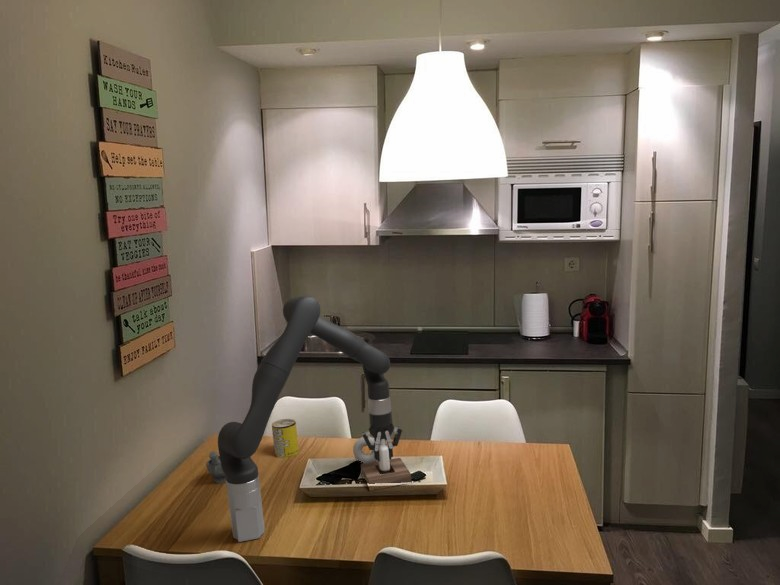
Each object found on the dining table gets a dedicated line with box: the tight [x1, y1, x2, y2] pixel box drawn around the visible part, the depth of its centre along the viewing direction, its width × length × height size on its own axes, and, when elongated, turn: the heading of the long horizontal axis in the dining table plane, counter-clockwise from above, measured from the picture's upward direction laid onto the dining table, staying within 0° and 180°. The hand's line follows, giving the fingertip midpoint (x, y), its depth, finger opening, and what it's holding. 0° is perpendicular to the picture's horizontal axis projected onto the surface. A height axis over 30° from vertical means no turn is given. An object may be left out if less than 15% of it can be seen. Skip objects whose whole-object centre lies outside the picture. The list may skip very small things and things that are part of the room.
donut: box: [352, 436, 377, 464], centre depth 239 cm, size 10×4×10 cm, turn 89°
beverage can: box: [271, 418, 300, 459], centre depth 254 cm, size 9×9×12 cm
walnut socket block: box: [360, 457, 412, 484], centre depth 226 cm, size 14×14×4 cm
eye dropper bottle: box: [378, 439, 390, 471], centre depth 225 cm, size 4×6×12 cm
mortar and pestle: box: [205, 450, 226, 484], centre depth 235 cm, size 11×9×12 cm
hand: (384, 459), depth 225 cm, fingers closed on eye dropper bottle, 3 cm apart
